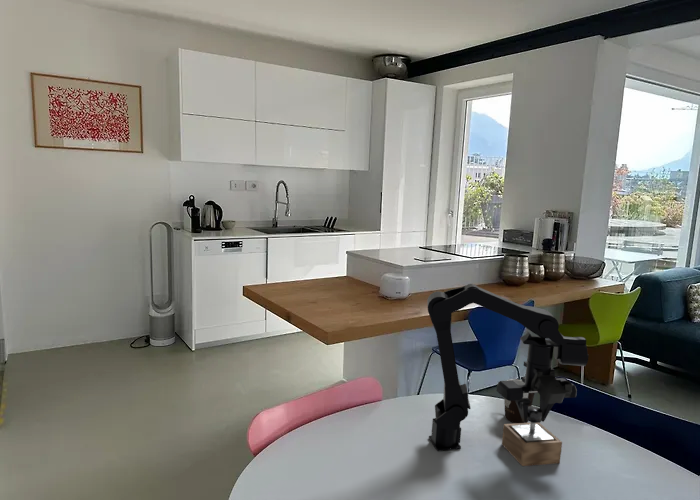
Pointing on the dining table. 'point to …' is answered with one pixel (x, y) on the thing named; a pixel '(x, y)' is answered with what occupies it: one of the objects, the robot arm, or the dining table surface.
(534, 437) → the plunger
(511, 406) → the coffee mug
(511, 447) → the wooden square tray
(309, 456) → the dining table surface
